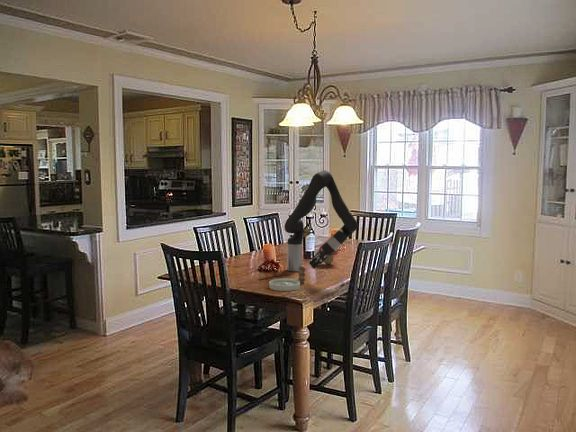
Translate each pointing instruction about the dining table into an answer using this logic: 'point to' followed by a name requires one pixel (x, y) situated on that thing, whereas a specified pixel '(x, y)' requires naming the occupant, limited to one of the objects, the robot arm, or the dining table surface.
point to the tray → (284, 284)
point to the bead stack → (301, 274)
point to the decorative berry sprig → (272, 268)
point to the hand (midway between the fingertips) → (311, 266)
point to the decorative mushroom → (329, 258)
